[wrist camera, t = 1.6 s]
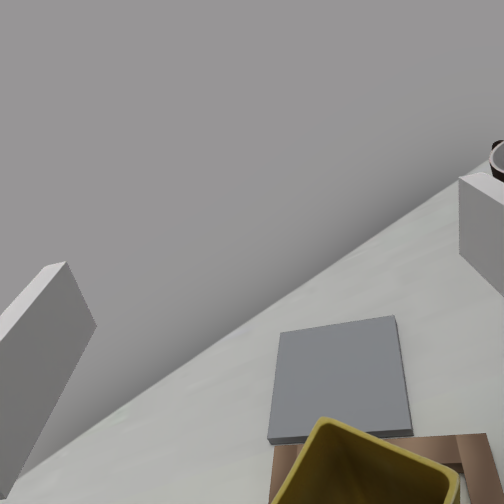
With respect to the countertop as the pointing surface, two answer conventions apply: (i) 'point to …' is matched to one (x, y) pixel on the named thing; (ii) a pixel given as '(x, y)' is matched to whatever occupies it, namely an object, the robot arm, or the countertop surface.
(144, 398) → the countertop surface
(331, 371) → the mat
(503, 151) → the coffee mug
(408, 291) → the countertop surface
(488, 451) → the board
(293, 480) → the flower pot
